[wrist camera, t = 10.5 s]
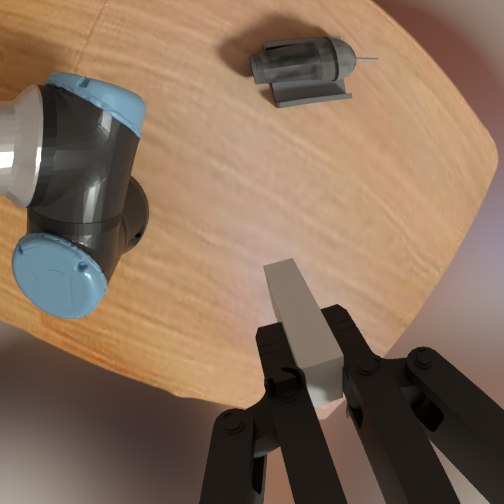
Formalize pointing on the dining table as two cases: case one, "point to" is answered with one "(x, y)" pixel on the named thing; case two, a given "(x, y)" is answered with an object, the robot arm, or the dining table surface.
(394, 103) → the dining table surface
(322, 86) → the cradle
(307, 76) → the beverage cup
